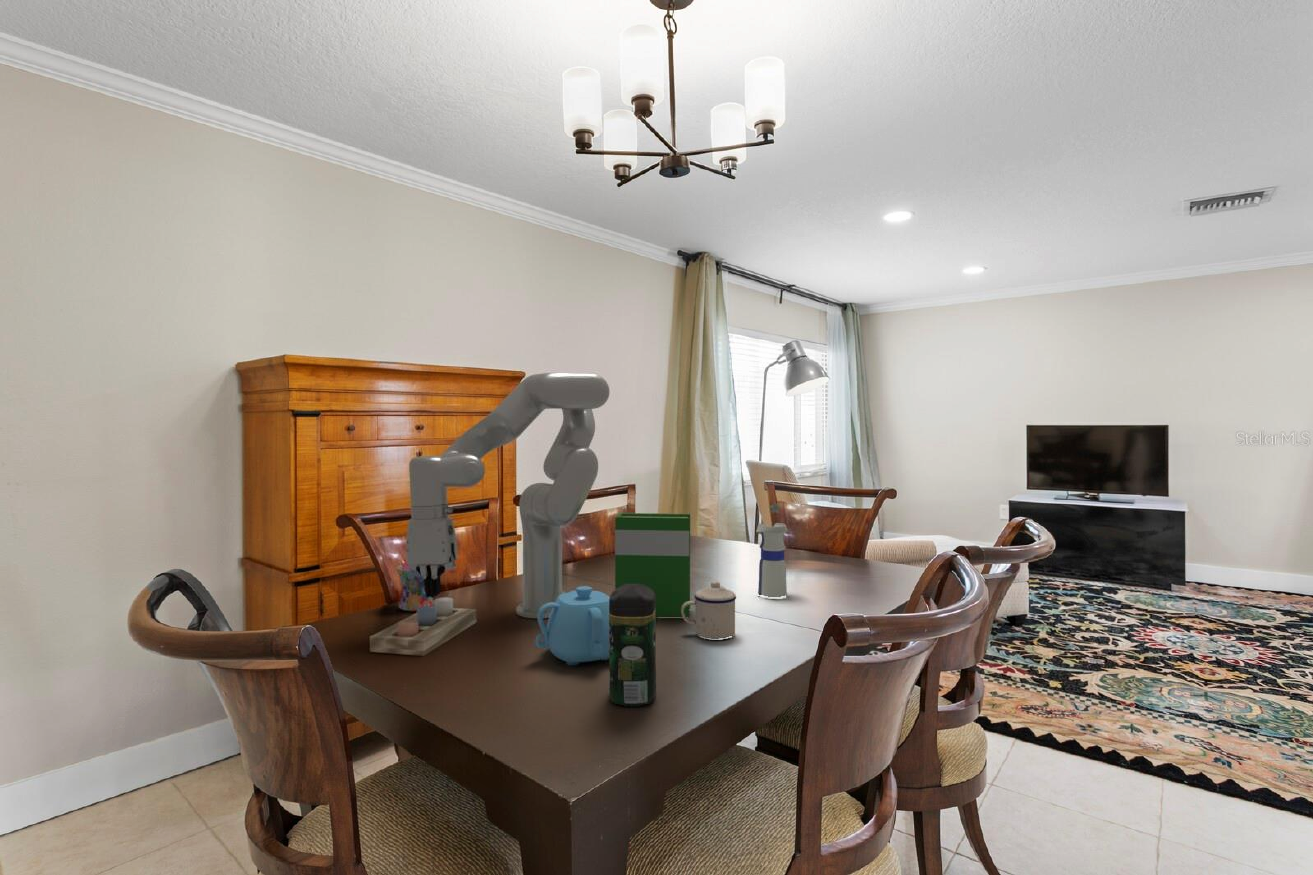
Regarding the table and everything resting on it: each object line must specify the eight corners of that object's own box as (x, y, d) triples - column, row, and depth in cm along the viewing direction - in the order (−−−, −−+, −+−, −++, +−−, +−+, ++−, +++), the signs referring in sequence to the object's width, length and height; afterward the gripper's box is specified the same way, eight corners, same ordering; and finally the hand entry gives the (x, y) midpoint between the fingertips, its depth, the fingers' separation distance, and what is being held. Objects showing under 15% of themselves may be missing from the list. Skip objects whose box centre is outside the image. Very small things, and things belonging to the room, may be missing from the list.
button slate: (440, 623, 139) (440, 606, 139) (430, 628, 135) (430, 611, 135) (423, 622, 140) (423, 605, 140) (413, 627, 136) (413, 610, 136)
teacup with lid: (734, 628, 143) (734, 577, 142) (737, 642, 134) (737, 587, 133) (681, 627, 143) (681, 576, 143) (680, 641, 134) (681, 586, 134)
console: (476, 622, 147) (476, 609, 147) (423, 655, 125) (423, 640, 125) (429, 619, 149) (429, 606, 149) (369, 651, 128) (369, 636, 128)
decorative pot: (525, 661, 123) (524, 591, 123) (574, 636, 137) (574, 574, 137) (594, 677, 115) (594, 603, 115) (639, 649, 129) (638, 583, 129)
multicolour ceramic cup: (420, 615, 153) (420, 571, 152) (388, 611, 155) (388, 568, 155) (450, 601, 164) (450, 561, 164) (419, 599, 167) (419, 559, 167)
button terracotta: (422, 638, 132) (422, 620, 132) (411, 644, 128) (411, 626, 128) (405, 637, 133) (404, 619, 133) (393, 643, 129) (393, 625, 129)
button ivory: (456, 613, 146) (456, 597, 146) (447, 619, 142) (447, 602, 142) (440, 612, 147) (440, 597, 146) (430, 618, 143) (430, 601, 143)
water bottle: (751, 592, 174) (752, 501, 173) (782, 591, 175) (782, 501, 174) (760, 600, 166) (760, 505, 165) (791, 599, 167) (792, 505, 166)
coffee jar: (612, 684, 112) (612, 579, 112) (657, 685, 112) (657, 580, 111) (605, 708, 102) (605, 594, 102) (654, 709, 102) (654, 595, 102)
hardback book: (690, 610, 157) (690, 513, 157) (689, 619, 150) (689, 518, 149) (619, 608, 159) (619, 513, 158) (615, 617, 151) (615, 517, 151)
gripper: (469, 509, 140) (472, 591, 141) (407, 509, 143) (410, 590, 144) (453, 515, 133) (456, 601, 134) (388, 515, 135) (391, 600, 136)
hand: (432, 595), depth 139 cm, fingers closed
